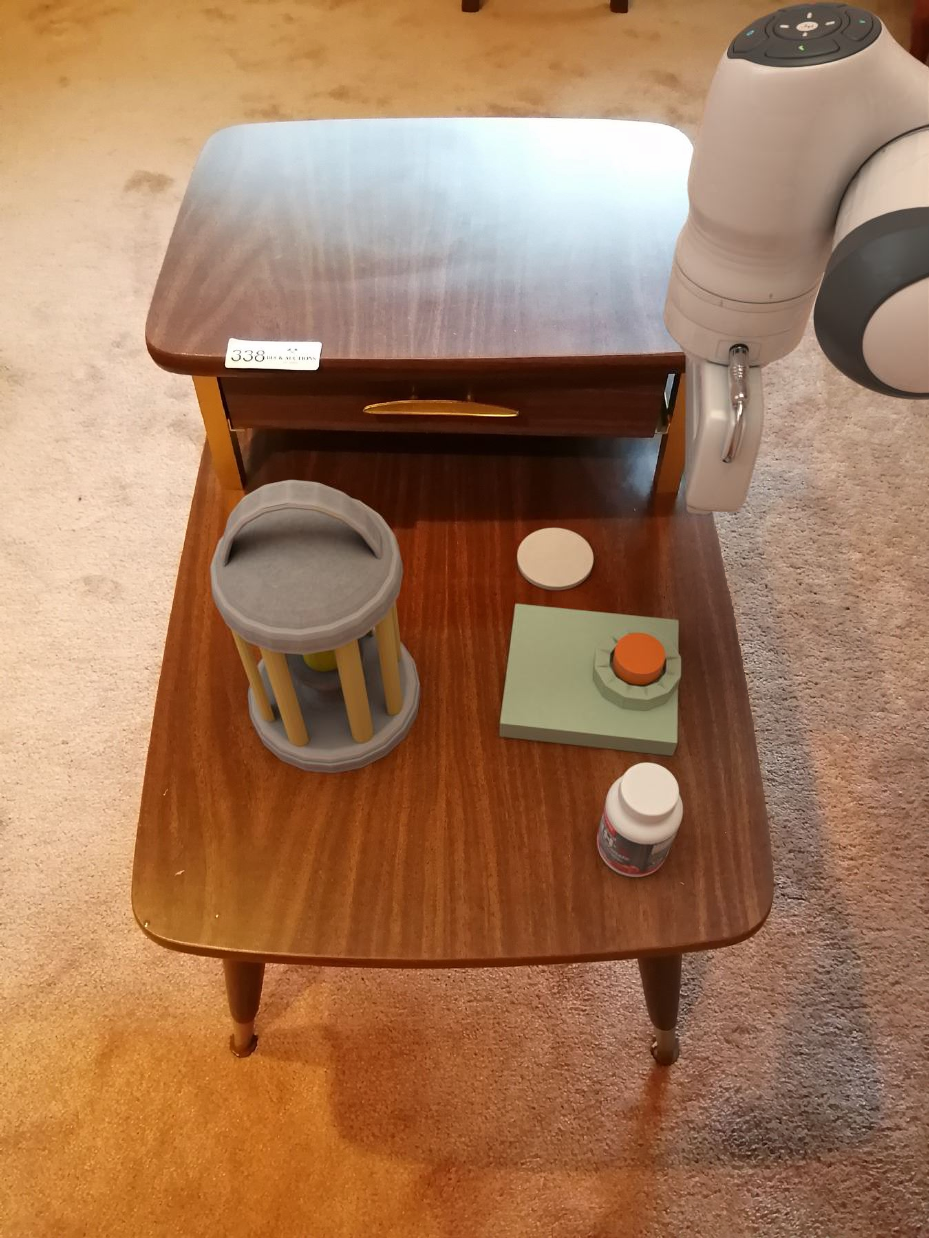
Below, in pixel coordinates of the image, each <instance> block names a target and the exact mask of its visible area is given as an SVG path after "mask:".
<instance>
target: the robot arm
mask: <svg viewBox="0 0 929 1238" xmlns="http://www.w3.org/2000/svg"><path fill="white" fill-rule="evenodd" d="M701 110H702V111H701V115H700V119H699V123H698V126H697V131H696V135H695V139H694V144H693V148H692V149H693V150H692V153H691V159H690V164H689V170H688V174H687V175H688V176H687V186H686V187H687V190H686V191H687V198H688V213H687V217H686V220H685V222H684V224H683V226H682V228H681V230H680V231H679V234H678V237H677V239H676V242H675V247H674V252H673V258H672V264H671V269H670V276H669V280H668V284H667V290H666V296H665V301H664V306H663V314H662V315H663V317H662V319H663V323H664V326H665V329H666V330H667V333H668V334H669V336H670V337H671V338H672V340H673V341H675V343H677V344H678V346H679V347H680V349H681V351H682V353H683V354H684V355H685V432H684V433H685V437H684V439H685V442H684V443H685V445H684V446H685V449H684V452H685V455H684V457H685V458H684V460H685V462H684V463H685V465H684V466H685V467H684V471H685V472H684V491H685V492H684V500H685V504H686V511H687V512H688V513H690V514H693V515H694V514H695V515H705V516H706V515H709V514H712V513H714V512H715V513H719V512H720V513H733V512H737V511H739V510H741V509H742V508H743V507H744V505H745V502H746V499H747V496H748V493H749V489H750V485H751V481H752V478H753V474H754V470H755V467H756V463H757V459H758V455H759V452H760V451H759V450H760V447H761V441H762V435H763V428H764V419H765V418H764V417H765V404H764V401H765V400H764V388H763V387H764V386H763V371H762V369H764V368H765V367H767V366H768V365H769V364H771V363H773V362H776V361H779V360H781V359H783V358H785V357H786V356H789V354H791V353H792V352H793V351H794V350H795V349H796V348H797V347H798V346H799V345H800V343H801V342H802V340H803V337H804V335H805V332H806V328H807V325H808V322H809V319H810V316H811V313H812V310H813V315H812V316H813V317H812V319H813V327H814V329H813V330H814V334H815V338H816V341H817V342H818V345H819V347H820V349H821V351H822V353H823V354H824V356H825V357H826V358H827V360H828V361H829V362H830V363H831V364H832V365H833V366H834V368H835V369H837V370H838V371H839V372H840V373H842V374H843V375H844V376H845V377H846V378H848V379H849V380H851V381H852V382H854V383H856V384H857V385H859V386H861V387H863V388H865V389H867V390H870V391H872V392H873V393H874V392H875V393H877V394H879V395H883V396H887V397H891V398H896V399H900V400H901V399H903V400H909V401H911V400H912V401H929V66H927V65H926V64H924V63H923V62H922V61H920V60H919V59H917V58H916V57H915V56H913V55H912V54H911V53H909V52H908V51H907V50H906V49H905V48H904V47H902V46H901V44H899V42H897V41H896V40H895V38H894V37H893V36H892V34H891V33H890V31H889V29H888V28H887V26H886V25H885V23H884V22H883V21H882V19H881V18H880V17H879V16H877V15H876V14H874V13H873V12H872V11H869V10H867V9H865V8H862V7H860V6H855V5H849V4H847V3H846V2H845V3H844V2H837V1H836V2H835V1H814V2H804V3H799V4H793V5H789V6H785V7H782V8H779V9H777V10H776V11H773V12H770V13H767V14H766V15H763V16H762V17H759V18H757V19H756V20H754V21H752V22H751V23H749V24H748V25H747V26H746V27H744V28H743V29H742V30H741V31H740V32H739V33H737V34H736V36H735V37H734V38H733V39H732V40H731V42H730V43H729V45H728V46H727V47H726V49H725V50H724V52H723V53H722V55H721V57H720V59H719V60H718V64H717V66H716V68H715V71H714V73H713V75H712V78H711V81H710V84H709V87H708V90H707V93H706V96H705V100H704V104H703V107H702V109H701Z"/></svg>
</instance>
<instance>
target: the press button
mask: <svg viewBox="0 0 929 1238" xmlns="http://www.w3.org/2000/svg"><path fill="white" fill-rule="evenodd" d="M664 661H665V650H664V648H663V646H662V644H661V643H660V642H659V641H658V640H657V639H656V638H654V637H653V636H651V635H648V634H645V633H631V634H628V635H626V636H624V637H622V638H621V639H620V640H619V641H618V643H617V645H616V647H615V652H614V657H613V668H614V670H615V672H616V674H617V675H618V676H619V677H620V678H621V679H622V680H623V681H625V682H627V683H629V684H633V685H647V684H650V683H652V682H654V681H655V680H656V679H657V678H658V677H659V676H660V674H661V672H662V668H663V665H664Z"/></svg>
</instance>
